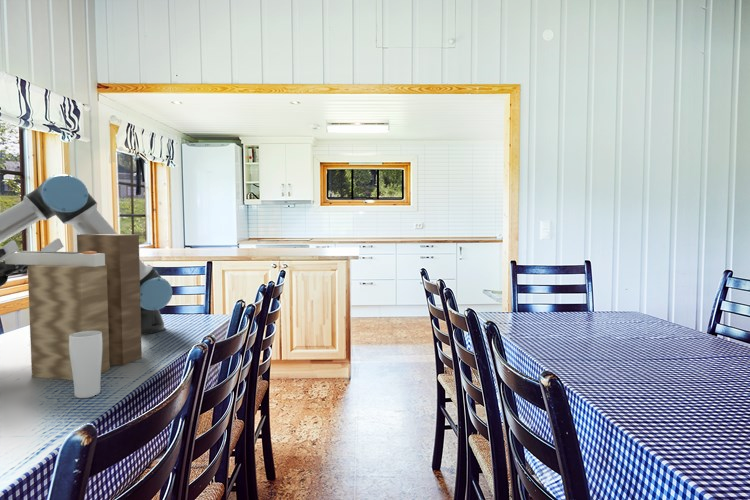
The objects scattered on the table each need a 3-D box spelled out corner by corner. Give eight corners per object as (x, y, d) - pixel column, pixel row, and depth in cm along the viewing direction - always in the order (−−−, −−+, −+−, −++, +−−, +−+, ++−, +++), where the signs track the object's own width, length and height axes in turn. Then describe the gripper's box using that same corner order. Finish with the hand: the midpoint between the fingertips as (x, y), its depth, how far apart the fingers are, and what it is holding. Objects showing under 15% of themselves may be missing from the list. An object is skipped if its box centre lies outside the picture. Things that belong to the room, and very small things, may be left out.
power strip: (5, 264, 123) (4, 250, 123) (17, 262, 127) (17, 249, 127) (94, 266, 119) (94, 252, 118) (105, 265, 122) (104, 251, 122)
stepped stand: (31, 376, 121) (26, 235, 119) (93, 354, 142) (89, 233, 139) (87, 381, 118) (82, 236, 116) (141, 357, 139) (138, 234, 136)
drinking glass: (80, 390, 112) (79, 330, 111) (109, 389, 112) (107, 330, 111) (64, 400, 105) (62, 337, 104) (94, 400, 106) (93, 337, 105)
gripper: (31, 285, 139) (82, 252, 136) (-59, 299, 115) (0, 259, 111) (20, 264, 139) (70, 230, 136) (-72, 273, 115) (-14, 232, 111)
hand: (39, 243), depth 123 cm, fingers open, 13 cm apart
